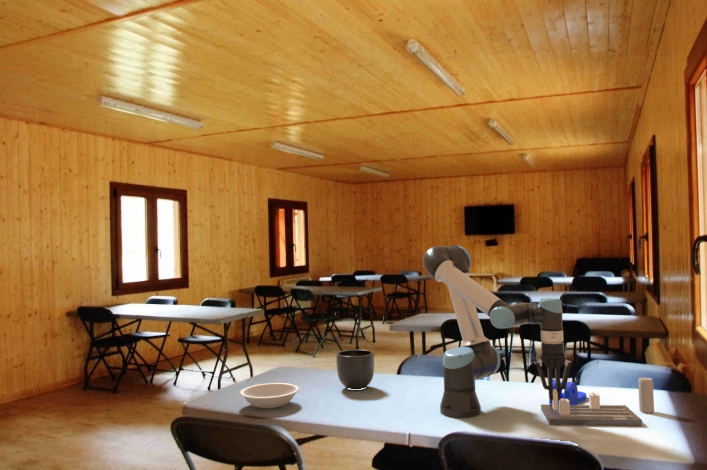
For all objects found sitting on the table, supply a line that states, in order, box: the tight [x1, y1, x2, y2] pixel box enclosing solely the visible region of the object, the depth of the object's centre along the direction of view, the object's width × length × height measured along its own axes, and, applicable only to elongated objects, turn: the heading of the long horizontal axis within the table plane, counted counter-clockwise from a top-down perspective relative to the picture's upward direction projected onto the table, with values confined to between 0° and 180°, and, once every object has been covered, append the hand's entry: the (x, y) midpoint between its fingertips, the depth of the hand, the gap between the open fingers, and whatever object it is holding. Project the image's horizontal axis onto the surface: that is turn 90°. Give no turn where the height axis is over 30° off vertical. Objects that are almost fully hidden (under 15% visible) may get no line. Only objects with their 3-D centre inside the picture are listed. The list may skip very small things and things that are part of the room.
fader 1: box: [559, 398, 570, 415], centre depth 202 cm, size 3×3×5 cm
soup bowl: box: [239, 382, 300, 409], centre depth 233 cm, size 24×24×7 cm
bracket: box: [548, 378, 587, 405], centre depth 227 cm, size 18×8×9 cm, turn 135°
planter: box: [335, 349, 375, 389], centre depth 257 cm, size 17×17×16 cm
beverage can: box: [637, 376, 655, 414], centre depth 209 cm, size 5×5×12 cm
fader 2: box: [588, 392, 601, 409], centre depth 208 cm, size 3×3×5 cm
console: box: [540, 404, 643, 427], centre depth 205 cm, size 30×18×3 cm, turn 81°
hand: (555, 409), depth 202 cm, fingers closed
